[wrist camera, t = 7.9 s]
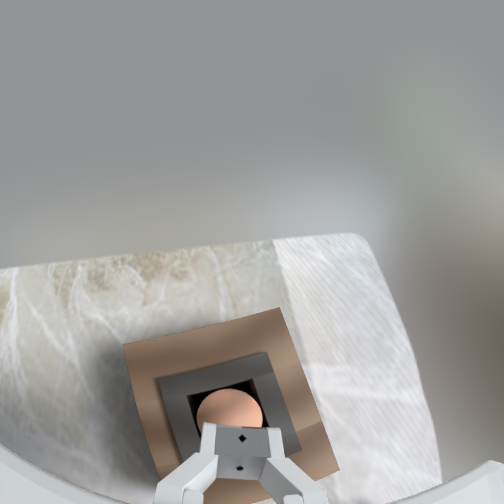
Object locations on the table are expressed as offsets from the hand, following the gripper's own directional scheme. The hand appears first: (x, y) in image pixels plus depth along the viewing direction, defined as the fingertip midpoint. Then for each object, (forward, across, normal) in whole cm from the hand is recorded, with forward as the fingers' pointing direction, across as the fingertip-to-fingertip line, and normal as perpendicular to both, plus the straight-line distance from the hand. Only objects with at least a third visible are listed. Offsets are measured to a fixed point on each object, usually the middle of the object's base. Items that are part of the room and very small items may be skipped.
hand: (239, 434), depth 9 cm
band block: (+14, 0, -13) cm, 19 cm away
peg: (+14, 0, -14) cm, 19 cm away
